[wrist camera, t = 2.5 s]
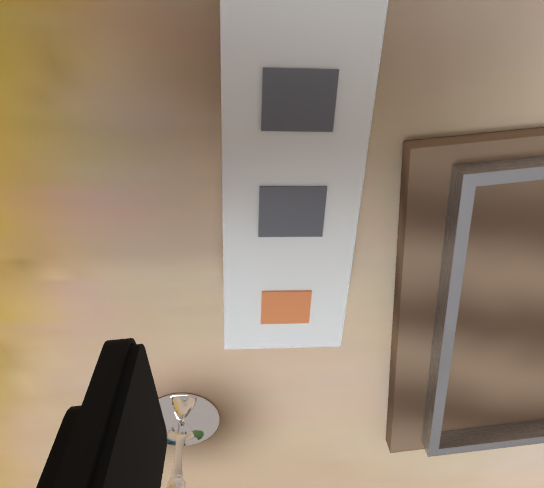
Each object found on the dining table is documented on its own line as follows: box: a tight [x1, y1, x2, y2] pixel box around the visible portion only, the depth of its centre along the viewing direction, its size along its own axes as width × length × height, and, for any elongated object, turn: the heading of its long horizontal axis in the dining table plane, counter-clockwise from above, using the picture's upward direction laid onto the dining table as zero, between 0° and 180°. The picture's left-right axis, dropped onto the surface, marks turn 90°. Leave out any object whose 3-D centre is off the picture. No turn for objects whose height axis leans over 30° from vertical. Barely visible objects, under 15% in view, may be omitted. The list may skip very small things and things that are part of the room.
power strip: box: [220, 0, 389, 349], centre depth 20 cm, size 14×5×5 cm, turn 178°
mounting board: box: [386, 127, 544, 457], centre depth 26 cm, size 20×13×2 cm, turn 4°
